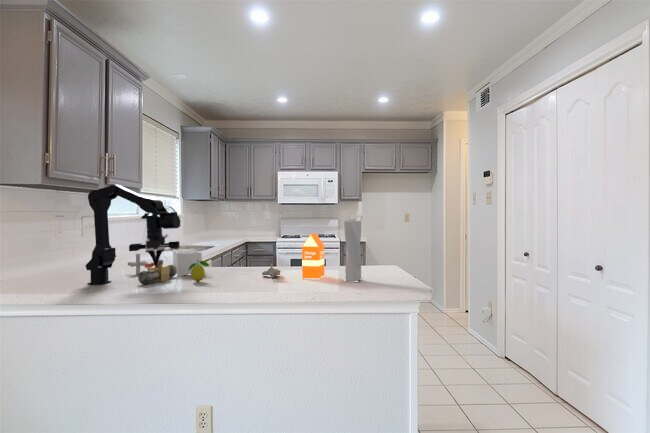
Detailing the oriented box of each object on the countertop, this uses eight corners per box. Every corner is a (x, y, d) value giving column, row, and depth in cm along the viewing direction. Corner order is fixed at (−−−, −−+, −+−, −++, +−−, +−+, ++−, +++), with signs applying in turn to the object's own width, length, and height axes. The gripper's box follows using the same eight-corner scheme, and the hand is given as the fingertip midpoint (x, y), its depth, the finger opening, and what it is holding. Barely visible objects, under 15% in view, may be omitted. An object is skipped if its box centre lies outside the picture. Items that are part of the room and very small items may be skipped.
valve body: (152, 284, 147) (151, 267, 147) (137, 284, 148) (137, 267, 148) (177, 276, 167) (177, 261, 167) (164, 276, 167) (164, 261, 167)
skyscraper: (364, 279, 154) (364, 215, 154) (361, 282, 146) (360, 215, 147) (345, 278, 157) (345, 215, 157) (341, 282, 149) (341, 215, 149)
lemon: (209, 281, 153) (209, 258, 153) (198, 284, 148) (198, 260, 148) (198, 280, 156) (198, 257, 156) (187, 282, 151) (187, 259, 151)
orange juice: (302, 279, 156) (301, 234, 156) (308, 276, 165) (308, 233, 165) (318, 280, 154) (318, 234, 154) (324, 276, 163) (324, 233, 163)
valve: (280, 279, 153) (257, 282, 154) (286, 281, 165) (265, 283, 166) (279, 262, 155) (257, 264, 156) (285, 264, 167) (264, 266, 168)
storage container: (173, 270, 190) (173, 249, 191) (194, 268, 196) (194, 248, 196) (177, 276, 168) (177, 253, 168) (201, 274, 173) (201, 252, 174)
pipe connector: (153, 272, 182) (153, 252, 182) (141, 275, 172) (141, 254, 172) (135, 272, 183) (134, 252, 183) (122, 275, 173) (121, 254, 173)
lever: (155, 263, 159) (155, 259, 159) (164, 263, 159) (164, 259, 159) (142, 267, 144) (142, 263, 144) (152, 267, 145) (152, 263, 145)
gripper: (125, 231, 138) (127, 271, 138) (177, 228, 144) (179, 267, 144) (130, 230, 148) (132, 267, 148) (179, 227, 154) (180, 263, 154)
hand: (156, 266), depth 148 cm, fingers closed
